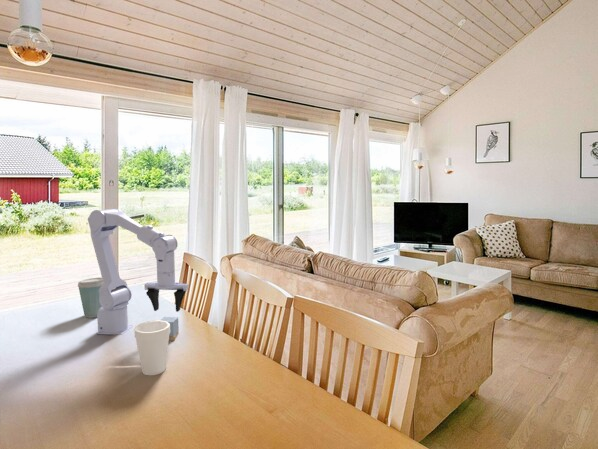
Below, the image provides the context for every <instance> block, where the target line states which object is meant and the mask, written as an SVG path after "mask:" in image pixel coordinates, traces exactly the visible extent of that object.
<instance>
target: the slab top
mask: <svg viewBox="0 0 598 449" xmlns="http://www.w3.org/2000/svg"><path fill="white" fill-rule="evenodd" d="M178 335H179V331H178V332H177V333H176V334H175V336H174V337H172V336H169V341H171V342H172V341H176V339H177V337H178Z"/></svg>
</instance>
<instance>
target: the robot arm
mask: <svg viewBox="0 0 598 449" xmlns="http://www.w3.org/2000/svg"><path fill="white" fill-rule="evenodd" d="M87 221H88V222H87V223H88V225H89V229H90V237H91V242H92V245H93V250H94V253H95V257H96V260H97V263H98V267H99V271H100V272H99V273H100V275H101V277H102V279H103V284H102V286H101V287H100V289H99V294H100V297H99V302H100V304H101V306H102V307H101V308H100V309H99V311H98V315H97V317H96V318H97V332H96V334H97V335H124V334H125V333H126V332H127V331H129V330H130V329H132V328H133V327H134V325H133V324H132V325H131V324H129V317H128V316H129V315H128V305H129V302H130V301H131V299H132V291H131V289H130V287H129V286H128V283H127V281H125V280H124V279H122V278H121V277H120V274H119V270H118V267H117V266H118V265H117V262H116V258H115V255H114V250H113V247H112V244H111V240H110V235H111V234H112V232H114V231H115V229H117V228H118V227H120V228H123V230H124V229H125V230H126V231H129V232H130V233H133V234H134V235H136V238H137V240H138V241H141V242H142V243H143V244H145V245H147V246H149V247H151V248H152V251H153V252H154V254H155V255H154V256H155V257H154V258H155V260H156V280H157V282H146V283H144V284H143V285H144V290H145V291H146V296H148V298H149V300H150V302H151V304H152V308H153V311H154V312H157V311H158V310H159V309H160V308H159V307H160V303H159V302H160V300H159V295H160V291H161V290H163V291H164V290H165V291H174V292H173V295H174V300H175V312H177V313H178V312H180V311H181V307H182V302H183V299H184V296H185V294H186V292H187V291H188V290H189V283H182V282H176V269H175V262H176V261H175V251H176V250H177V249H178V240H177V239H176V237H175V236H173V234H166V235H165V233H164V232H163V231H159V230H157V229H155V228H154V226H153V225H152V224H146V225H145V224H144V225H141V224H140V223H139V222H137V221H135V220H134V219H132V218H131V217H129V216H128V215H127V214H125V212H124V210H120V209H119V208H109V209H108V208H107V209H94V210H92V211H91V212H90V214H89V215H88V217H87Z"/></svg>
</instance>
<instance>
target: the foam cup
mask: <svg viewBox="0 0 598 449" xmlns="http://www.w3.org/2000/svg"><path fill="white" fill-rule="evenodd" d="M133 330H134V331H133V332H134V338H135V341H136V346H137V352H138V356H139V361H140V367H141V371H142V373H143V375H146V376H156V375H161V373H164V372H165V371H166V368H167V362H168V361H167V360H168V351H169V350H168V349H169V334H170V323H168V322H166V321H160V320H150V321H146V322H141V323H139V324H137V325H135V327H134V329H133Z"/></svg>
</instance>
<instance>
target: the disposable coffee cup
mask: <svg viewBox="0 0 598 449" xmlns="http://www.w3.org/2000/svg"><path fill="white" fill-rule="evenodd" d="M102 284H103V279H102V276H100V277H91V278H85V279H81V280H79V281H78V284H77V287H78V290H79V295H80V301H81V306H82V311H83V315H84V317H85V318H88V319H89V318H90V319H91V318H97V315H98V311H99V309H100V308H101V307H102V306H101V304H100V302H99V297H100V294H99V289H100V287H101V286H102Z"/></svg>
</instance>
